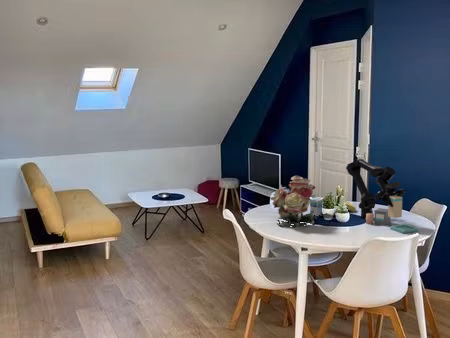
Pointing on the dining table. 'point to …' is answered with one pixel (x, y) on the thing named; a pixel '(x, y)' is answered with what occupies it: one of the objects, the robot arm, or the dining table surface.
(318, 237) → the dining table surface
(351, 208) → the plastic component
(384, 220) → the grey box
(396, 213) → the carton
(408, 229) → the tray
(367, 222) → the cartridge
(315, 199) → the light bulb box
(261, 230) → the dining table surface
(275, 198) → the rose bouquet
